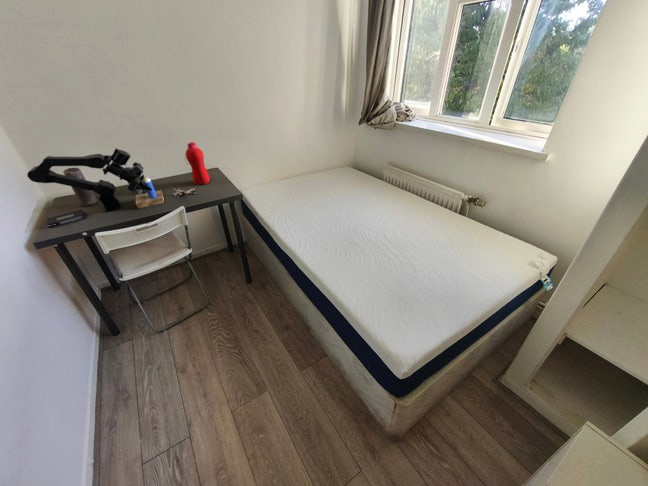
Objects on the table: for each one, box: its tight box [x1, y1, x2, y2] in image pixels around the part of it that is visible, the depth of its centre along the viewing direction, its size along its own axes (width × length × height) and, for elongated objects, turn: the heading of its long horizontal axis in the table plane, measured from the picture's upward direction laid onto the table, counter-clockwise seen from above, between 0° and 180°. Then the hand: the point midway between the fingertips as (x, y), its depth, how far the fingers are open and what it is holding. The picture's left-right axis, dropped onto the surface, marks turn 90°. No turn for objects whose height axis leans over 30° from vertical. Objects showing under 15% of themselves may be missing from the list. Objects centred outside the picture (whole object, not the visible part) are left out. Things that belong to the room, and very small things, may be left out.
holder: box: [135, 189, 165, 209], centre depth 155 cm, size 13×12×3 cm
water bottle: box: [184, 141, 211, 186], centre depth 169 cm, size 9×11×25 cm
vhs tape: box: [46, 209, 85, 229], centre depth 139 cm, size 8×14×2 cm, turn 130°
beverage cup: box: [124, 164, 143, 195], centre depth 160 cm, size 7×7×20 cm
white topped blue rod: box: [142, 177, 157, 198], centre depth 152 cm, size 4×4×14 cm
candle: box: [62, 167, 98, 207], centre depth 148 cm, size 8×7×20 cm
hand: (152, 188), depth 152 cm, fingers closed on white topped blue rod, 4 cm apart
